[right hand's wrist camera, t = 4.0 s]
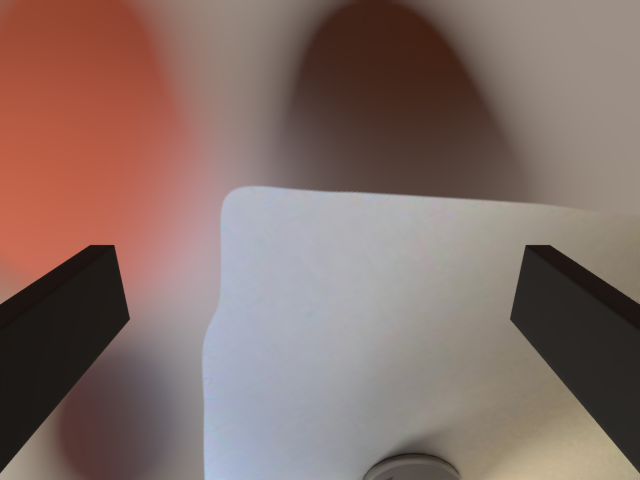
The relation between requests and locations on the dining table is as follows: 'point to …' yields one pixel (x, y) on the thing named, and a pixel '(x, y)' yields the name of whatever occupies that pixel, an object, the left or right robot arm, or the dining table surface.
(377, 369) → the dining table surface
